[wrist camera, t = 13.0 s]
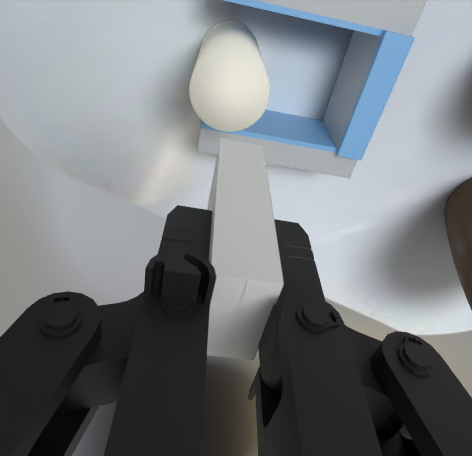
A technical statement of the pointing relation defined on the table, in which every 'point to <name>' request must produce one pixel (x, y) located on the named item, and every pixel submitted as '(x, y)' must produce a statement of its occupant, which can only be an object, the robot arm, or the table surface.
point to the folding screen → (335, 87)
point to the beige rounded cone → (229, 78)
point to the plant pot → (461, 234)
